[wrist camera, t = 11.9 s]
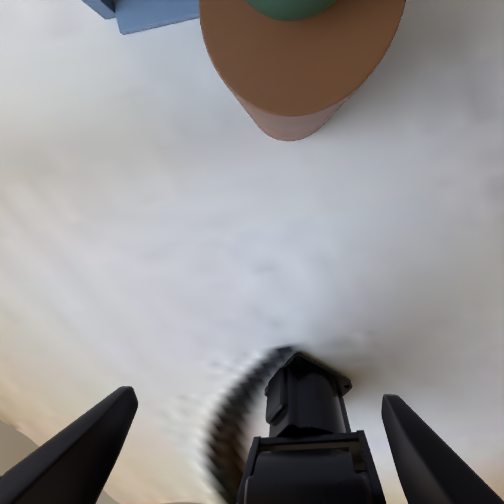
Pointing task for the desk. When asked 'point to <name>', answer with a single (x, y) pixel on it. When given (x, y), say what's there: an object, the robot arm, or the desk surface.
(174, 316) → the desk surface
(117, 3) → the cubby
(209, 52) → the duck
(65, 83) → the desk surface
